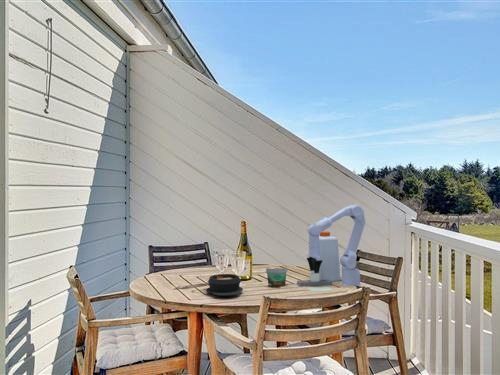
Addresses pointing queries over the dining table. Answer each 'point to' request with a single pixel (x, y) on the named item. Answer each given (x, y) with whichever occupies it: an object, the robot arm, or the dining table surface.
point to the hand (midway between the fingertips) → (314, 271)
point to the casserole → (224, 285)
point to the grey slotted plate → (314, 283)
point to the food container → (276, 277)
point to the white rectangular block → (314, 277)
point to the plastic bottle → (329, 257)
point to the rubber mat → (320, 288)
